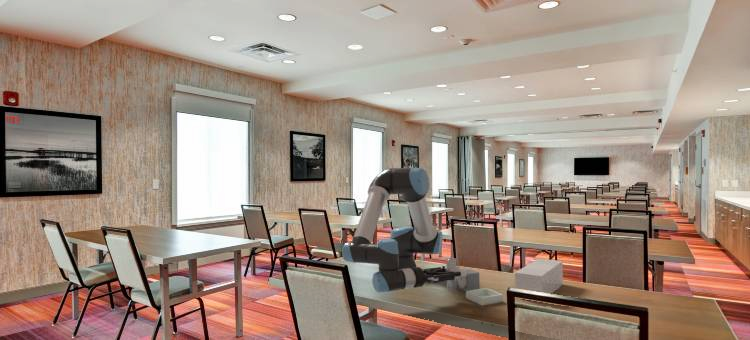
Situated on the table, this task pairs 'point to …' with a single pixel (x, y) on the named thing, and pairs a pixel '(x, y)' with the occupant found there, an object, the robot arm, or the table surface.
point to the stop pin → (451, 266)
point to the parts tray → (484, 296)
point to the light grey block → (540, 276)
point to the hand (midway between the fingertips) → (462, 270)
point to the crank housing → (469, 281)
